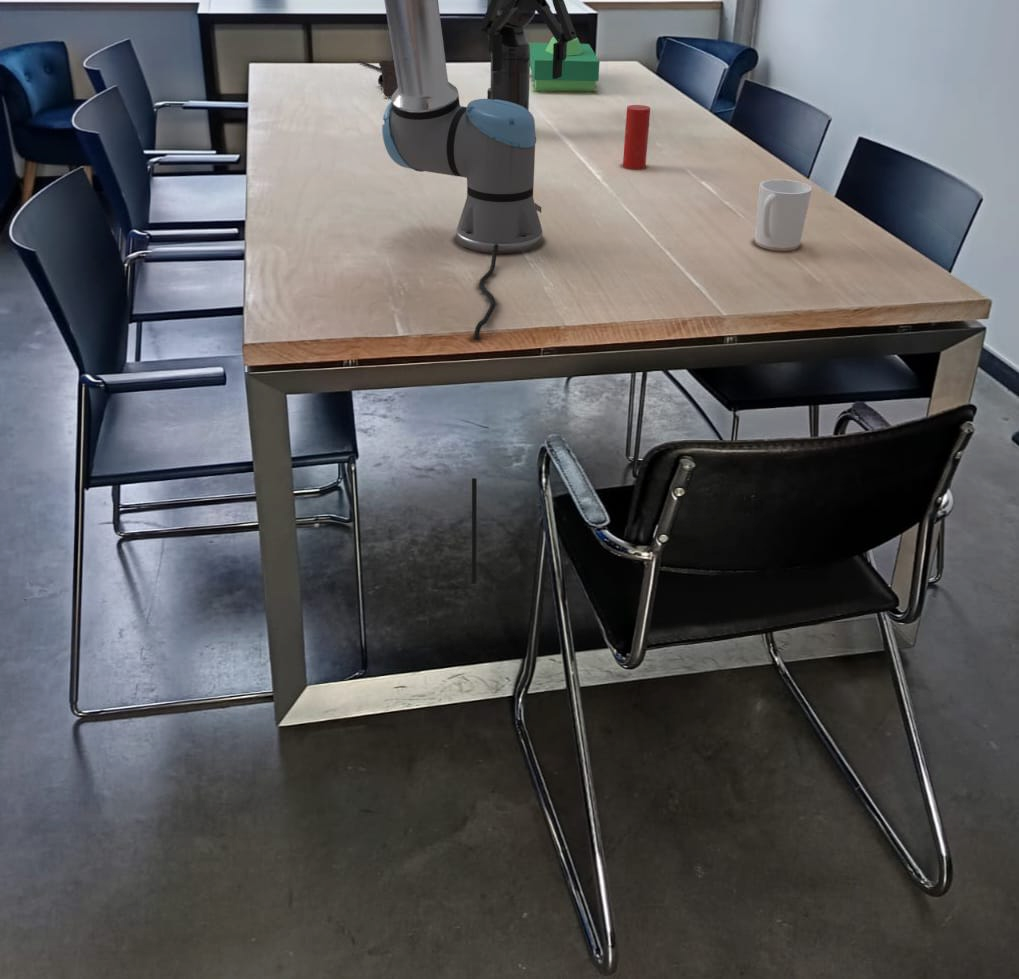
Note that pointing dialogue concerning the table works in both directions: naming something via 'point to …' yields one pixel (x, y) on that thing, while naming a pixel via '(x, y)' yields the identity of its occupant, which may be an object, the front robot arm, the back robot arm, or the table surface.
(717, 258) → the table surface
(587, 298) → the table surface
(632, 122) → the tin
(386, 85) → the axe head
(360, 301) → the table surface
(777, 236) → the mug
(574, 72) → the toy tank
